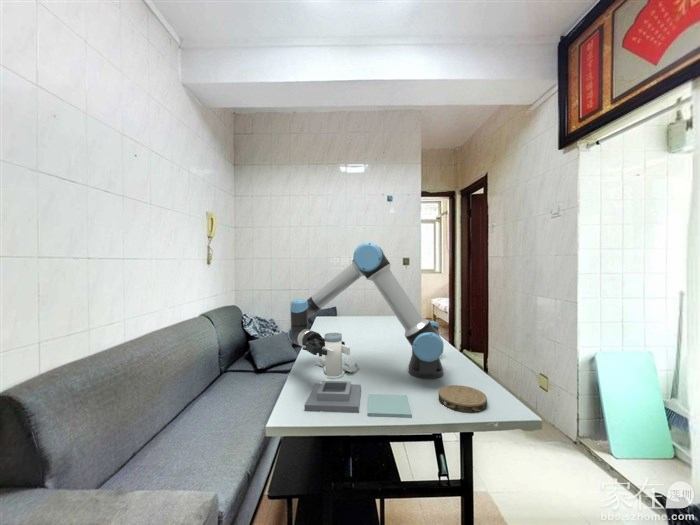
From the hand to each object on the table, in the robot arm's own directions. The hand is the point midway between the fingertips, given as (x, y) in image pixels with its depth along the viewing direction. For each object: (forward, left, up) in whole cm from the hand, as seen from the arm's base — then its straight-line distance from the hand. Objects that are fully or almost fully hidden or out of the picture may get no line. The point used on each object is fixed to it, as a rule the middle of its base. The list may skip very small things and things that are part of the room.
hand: (341, 352), depth 103 cm
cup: (+3, -4, -9) cm, 10 cm away
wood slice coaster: (-42, -5, -19) cm, 46 cm away
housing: (+3, -4, -18) cm, 19 cm away
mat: (-16, 0, -18) cm, 24 cm away
